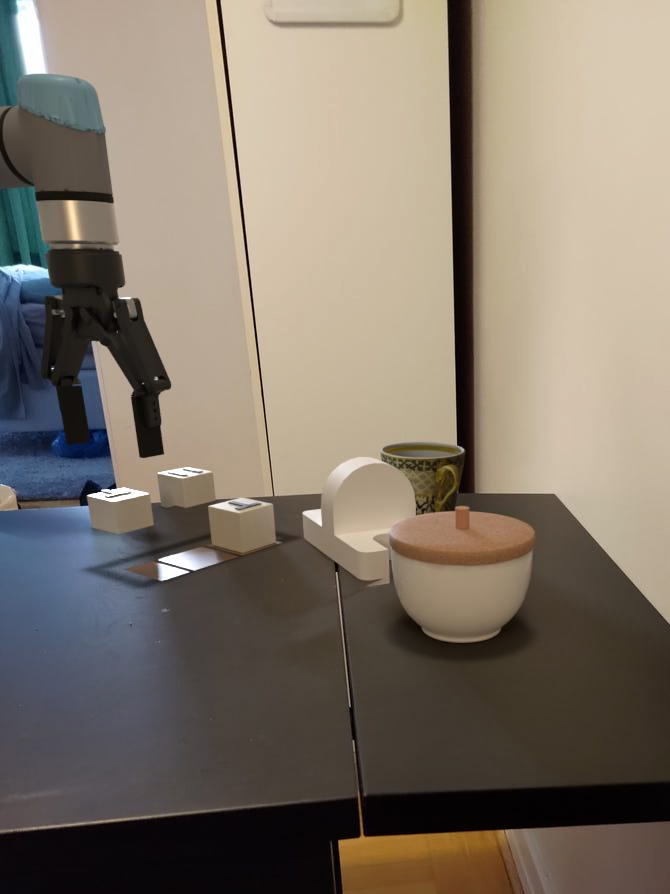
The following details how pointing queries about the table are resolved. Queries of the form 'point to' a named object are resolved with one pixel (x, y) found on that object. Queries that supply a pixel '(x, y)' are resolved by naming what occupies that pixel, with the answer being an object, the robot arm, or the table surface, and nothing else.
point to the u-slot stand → (360, 516)
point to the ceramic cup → (429, 472)
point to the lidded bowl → (461, 571)
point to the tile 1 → (120, 510)
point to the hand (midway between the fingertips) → (114, 449)
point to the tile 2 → (242, 524)
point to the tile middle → (186, 487)
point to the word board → (188, 562)
